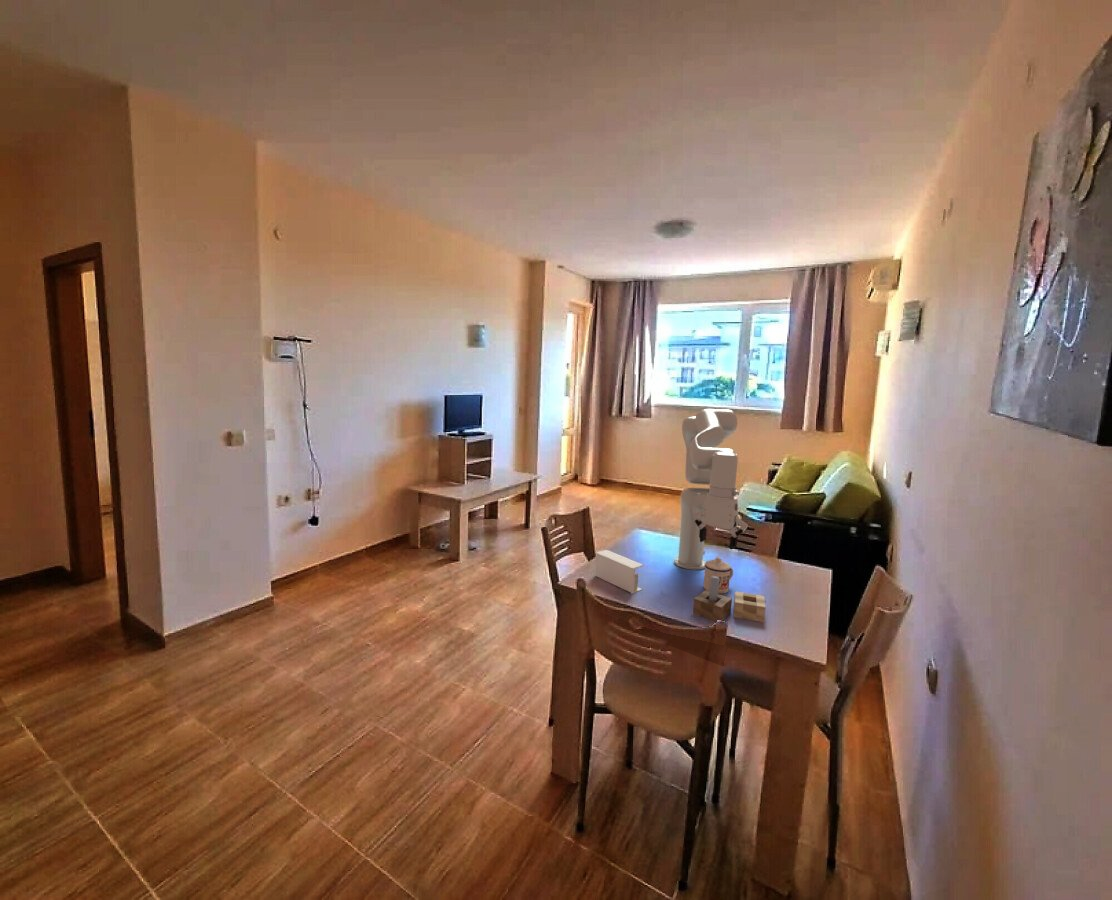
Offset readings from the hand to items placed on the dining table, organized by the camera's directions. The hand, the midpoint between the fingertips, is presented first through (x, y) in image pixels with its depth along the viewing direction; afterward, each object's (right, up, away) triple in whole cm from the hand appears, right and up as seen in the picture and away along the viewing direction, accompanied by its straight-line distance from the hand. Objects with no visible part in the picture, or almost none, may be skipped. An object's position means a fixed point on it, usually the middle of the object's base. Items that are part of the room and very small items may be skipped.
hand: (717, 544), depth 162 cm
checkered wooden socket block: (+11, -23, +4) cm, 26 cm away
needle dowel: (-1, -23, +3) cm, 23 cm away
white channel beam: (-29, -19, +25) cm, 43 cm away
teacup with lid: (+8, -20, +23) cm, 32 cm away
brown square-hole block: (-1, -23, +3) cm, 23 cm away
